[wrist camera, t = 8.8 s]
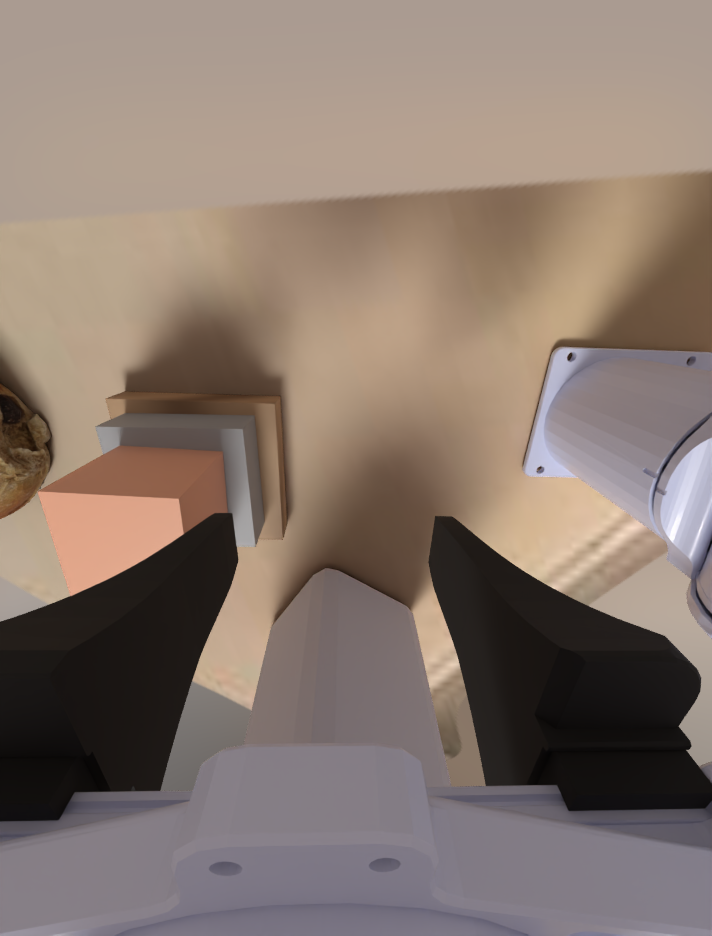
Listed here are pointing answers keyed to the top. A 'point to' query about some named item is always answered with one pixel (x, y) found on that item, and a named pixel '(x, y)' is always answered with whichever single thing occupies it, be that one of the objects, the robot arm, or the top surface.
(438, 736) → the soap bottle
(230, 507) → the grey slab
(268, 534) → the walnut slab
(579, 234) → the top surface
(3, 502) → the bread roll
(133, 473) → the terracotta cube
